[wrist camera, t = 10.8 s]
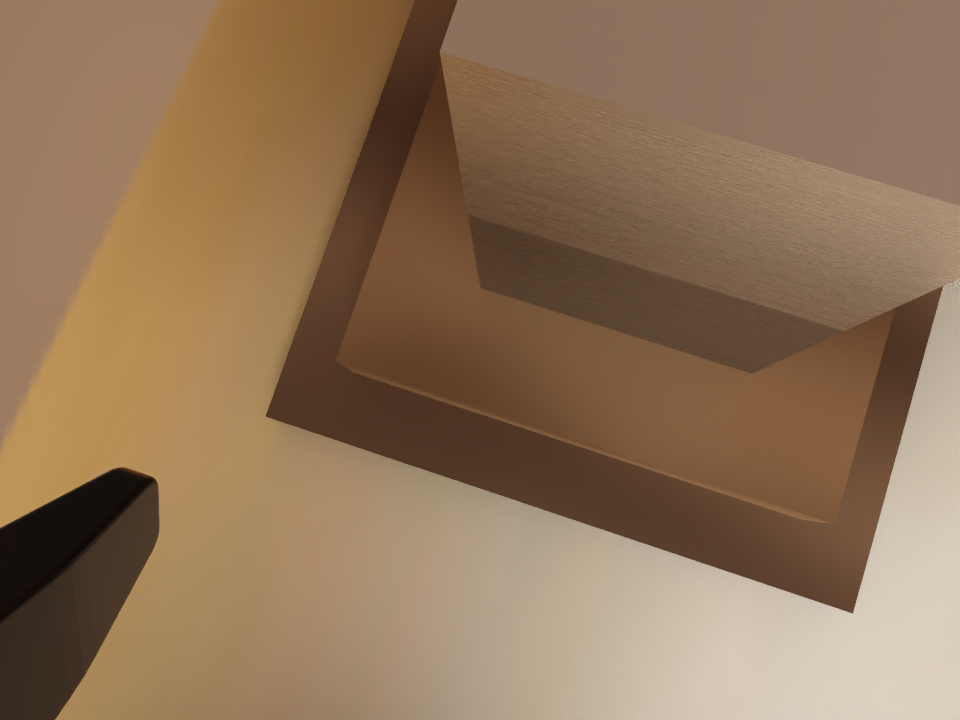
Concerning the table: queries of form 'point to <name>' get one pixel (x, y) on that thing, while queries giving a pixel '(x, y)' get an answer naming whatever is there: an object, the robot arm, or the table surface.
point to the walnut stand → (584, 379)
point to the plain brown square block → (710, 162)
